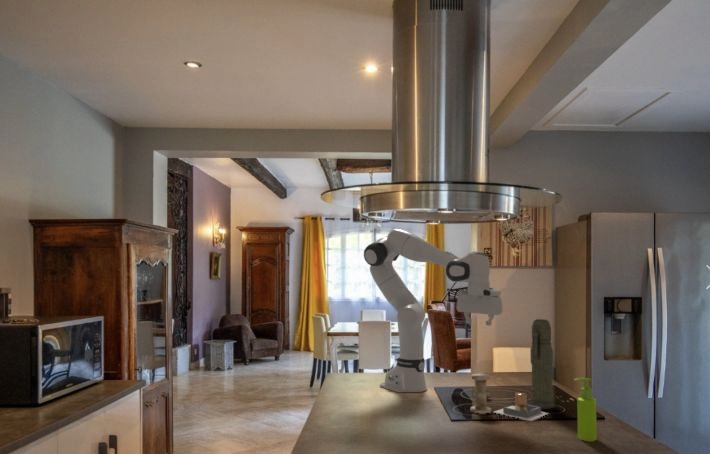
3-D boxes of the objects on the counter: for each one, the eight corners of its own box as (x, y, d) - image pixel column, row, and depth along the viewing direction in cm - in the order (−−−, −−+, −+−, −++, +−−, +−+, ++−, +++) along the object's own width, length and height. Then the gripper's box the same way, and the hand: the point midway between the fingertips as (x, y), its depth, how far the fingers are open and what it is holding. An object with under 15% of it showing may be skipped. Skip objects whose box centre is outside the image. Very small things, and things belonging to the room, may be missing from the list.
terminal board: (493, 413, 229) (493, 406, 229) (511, 407, 239) (511, 400, 239) (531, 421, 218) (531, 414, 218) (549, 414, 227) (548, 407, 228)
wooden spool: (466, 411, 232) (466, 375, 232) (477, 407, 237) (477, 372, 238) (484, 415, 226) (483, 378, 227) (495, 411, 232) (494, 375, 232)
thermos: (526, 407, 238) (525, 320, 239) (535, 402, 247) (534, 318, 249) (548, 411, 233) (547, 321, 235) (557, 405, 242) (556, 319, 244)
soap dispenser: (571, 436, 200) (571, 376, 201) (591, 435, 200) (590, 376, 201) (579, 441, 194) (578, 380, 195) (600, 441, 194) (598, 380, 195)
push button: (491, 395, 258) (491, 372, 259) (487, 398, 254) (487, 374, 254) (477, 393, 262) (477, 371, 262) (472, 396, 257) (472, 373, 258)
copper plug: (512, 412, 228) (513, 393, 228) (519, 410, 231) (519, 392, 231) (523, 414, 225) (523, 396, 225) (529, 412, 228) (529, 394, 228)
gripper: (453, 289, 249) (453, 322, 248) (496, 292, 235) (496, 327, 234) (462, 289, 253) (461, 321, 253) (504, 291, 239) (504, 326, 238)
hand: (478, 324), depth 243 cm, fingers open, 8 cm apart
